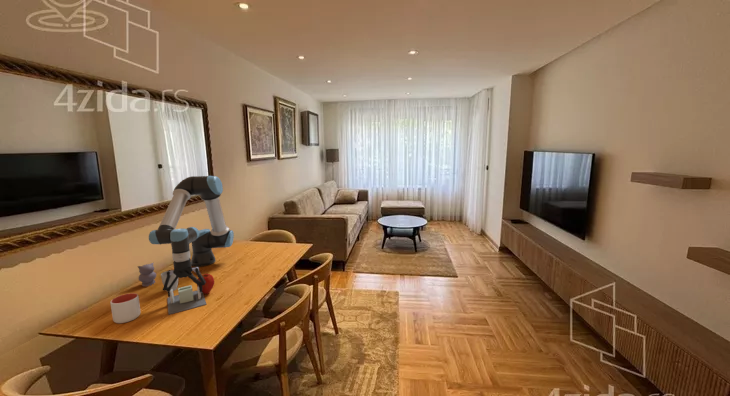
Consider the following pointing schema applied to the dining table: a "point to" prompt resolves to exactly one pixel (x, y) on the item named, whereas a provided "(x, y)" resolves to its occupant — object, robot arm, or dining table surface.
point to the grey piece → (179, 307)
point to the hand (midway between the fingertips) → (186, 300)
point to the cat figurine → (147, 274)
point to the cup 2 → (164, 276)
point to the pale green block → (185, 294)
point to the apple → (207, 283)
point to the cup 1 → (125, 308)
